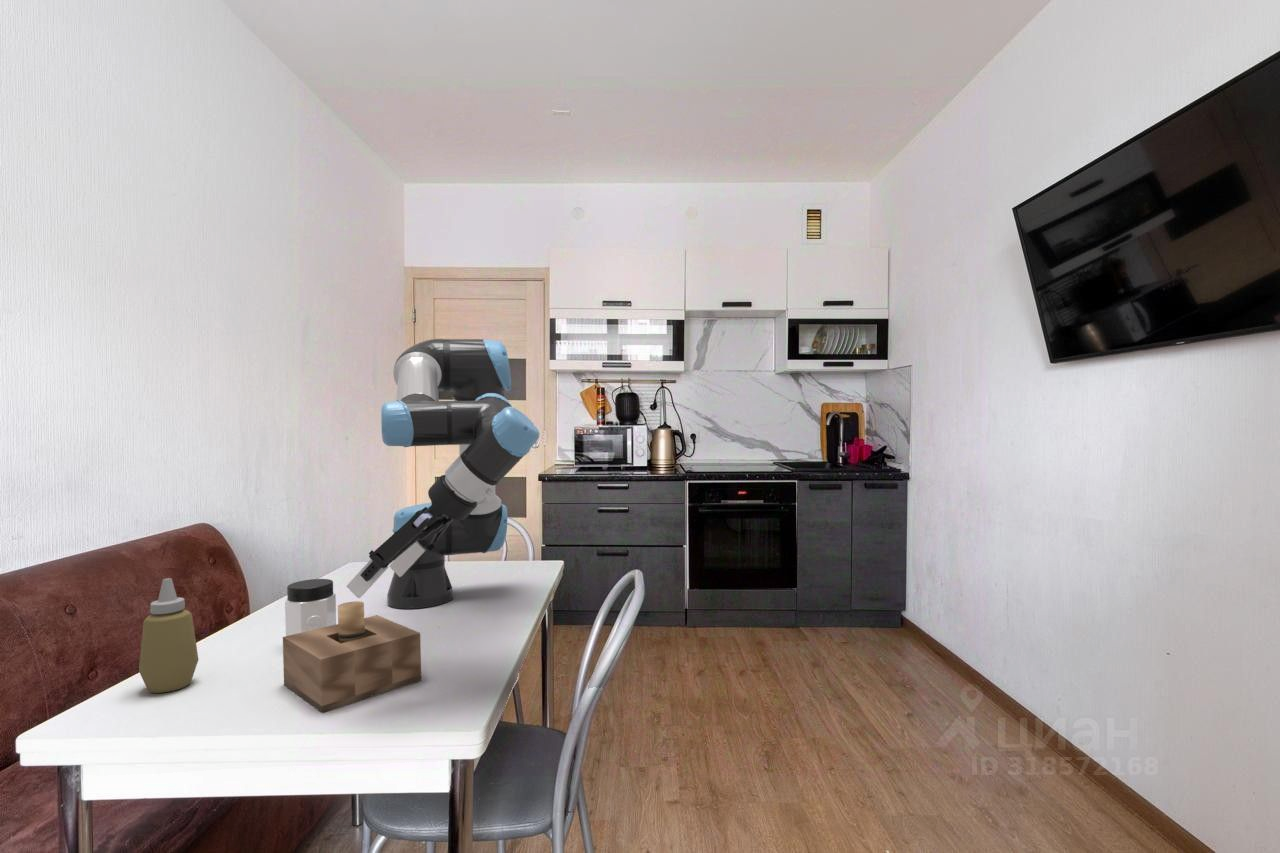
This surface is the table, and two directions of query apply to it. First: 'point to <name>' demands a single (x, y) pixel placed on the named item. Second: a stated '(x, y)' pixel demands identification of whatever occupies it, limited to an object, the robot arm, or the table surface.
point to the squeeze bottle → (168, 643)
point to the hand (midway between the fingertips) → (375, 581)
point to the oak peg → (351, 621)
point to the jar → (310, 606)
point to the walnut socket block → (351, 663)
